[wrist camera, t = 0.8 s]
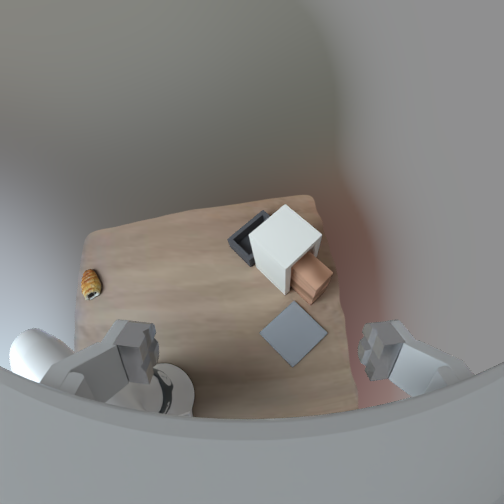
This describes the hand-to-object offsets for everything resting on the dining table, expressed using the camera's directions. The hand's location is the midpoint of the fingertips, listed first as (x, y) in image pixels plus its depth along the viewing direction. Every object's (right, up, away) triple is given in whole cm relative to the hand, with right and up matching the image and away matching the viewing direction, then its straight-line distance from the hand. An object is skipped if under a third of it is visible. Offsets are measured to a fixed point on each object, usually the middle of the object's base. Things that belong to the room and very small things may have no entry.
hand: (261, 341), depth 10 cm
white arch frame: (+8, 0, +57) cm, 57 cm away
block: (+12, -4, +55) cm, 56 cm away
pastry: (-47, -7, +61) cm, 77 cm away
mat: (+9, -15, +50) cm, 53 cm away
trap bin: (+1, +6, +61) cm, 61 cm away
